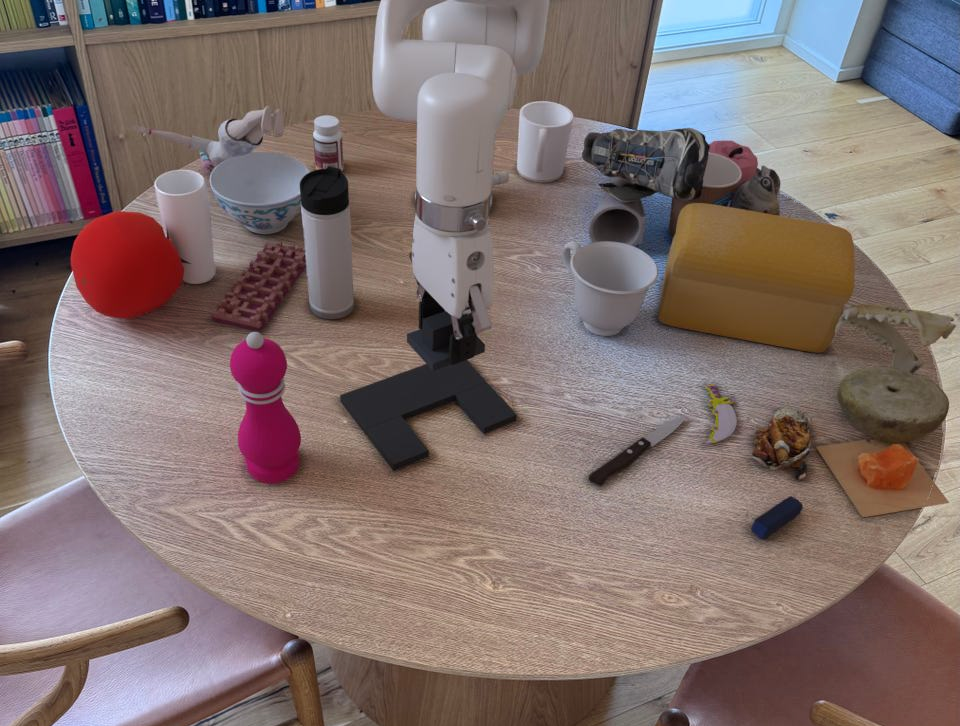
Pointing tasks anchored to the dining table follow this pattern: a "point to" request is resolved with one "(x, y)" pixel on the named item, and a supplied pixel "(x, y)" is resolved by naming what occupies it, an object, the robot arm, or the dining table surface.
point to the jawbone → (888, 335)
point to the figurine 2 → (758, 193)
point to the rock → (881, 476)
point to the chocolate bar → (261, 287)
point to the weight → (892, 403)
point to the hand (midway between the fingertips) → (446, 342)
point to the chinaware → (259, 189)
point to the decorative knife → (721, 416)
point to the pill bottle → (327, 143)
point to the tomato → (126, 265)
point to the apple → (737, 157)
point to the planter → (618, 219)
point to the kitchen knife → (633, 452)
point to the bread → (757, 277)
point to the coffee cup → (710, 187)
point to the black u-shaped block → (422, 407)
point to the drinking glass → (188, 221)
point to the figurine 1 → (229, 136)
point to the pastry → (784, 442)
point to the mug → (543, 140)
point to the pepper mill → (265, 410)
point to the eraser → (776, 517)
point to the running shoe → (649, 162)
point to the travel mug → (327, 242)
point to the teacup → (608, 283)
